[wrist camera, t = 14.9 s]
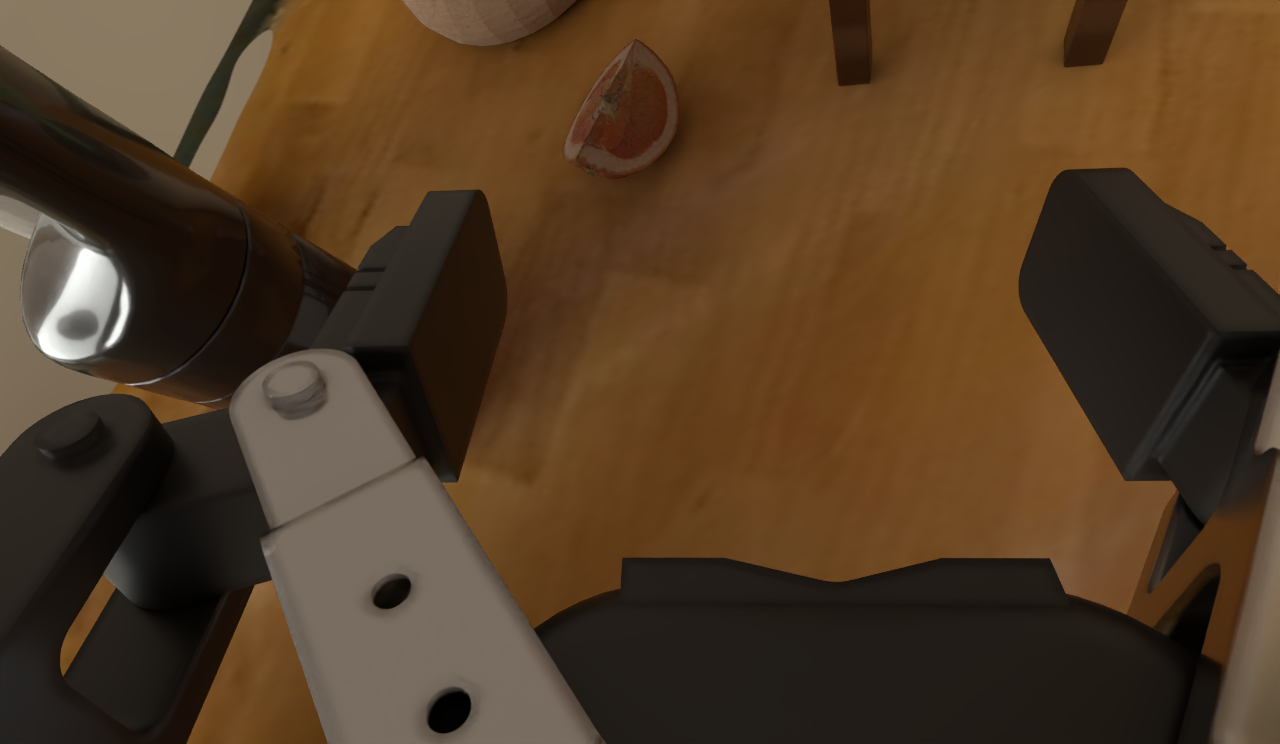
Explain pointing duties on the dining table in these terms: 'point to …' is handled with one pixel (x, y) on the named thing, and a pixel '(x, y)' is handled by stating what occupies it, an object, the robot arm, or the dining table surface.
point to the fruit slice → (625, 116)
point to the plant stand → (1082, 43)
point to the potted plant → (486, 18)
